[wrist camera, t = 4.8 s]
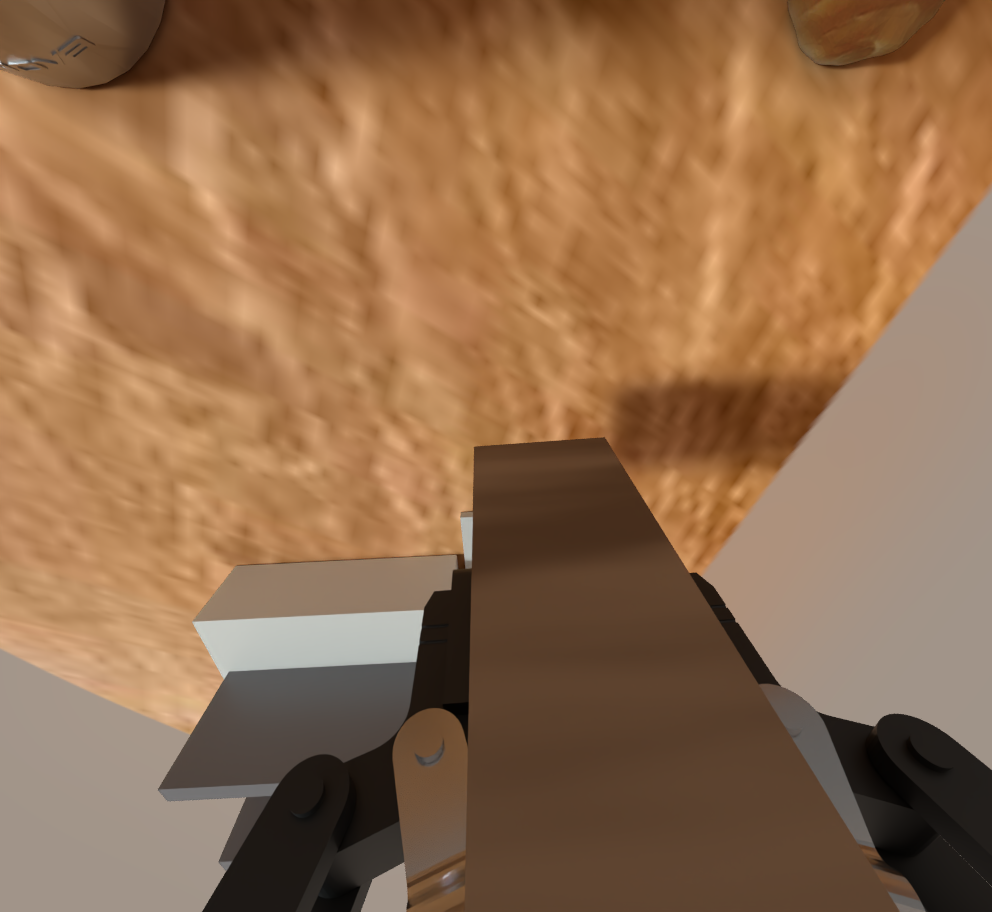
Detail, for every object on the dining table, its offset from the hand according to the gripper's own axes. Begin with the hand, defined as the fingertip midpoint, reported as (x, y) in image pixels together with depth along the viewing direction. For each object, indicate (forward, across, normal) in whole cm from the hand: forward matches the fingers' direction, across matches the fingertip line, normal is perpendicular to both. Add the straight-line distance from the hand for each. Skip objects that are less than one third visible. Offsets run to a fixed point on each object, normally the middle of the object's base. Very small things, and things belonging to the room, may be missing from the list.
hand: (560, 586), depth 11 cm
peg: (+4, 0, 0) cm, 4 cm away
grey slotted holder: (+10, +11, +16) cm, 22 cm away
